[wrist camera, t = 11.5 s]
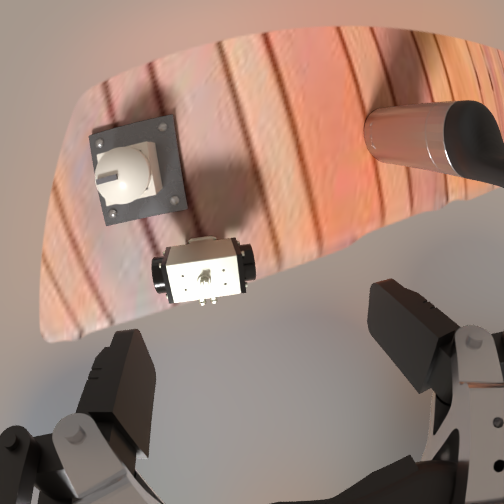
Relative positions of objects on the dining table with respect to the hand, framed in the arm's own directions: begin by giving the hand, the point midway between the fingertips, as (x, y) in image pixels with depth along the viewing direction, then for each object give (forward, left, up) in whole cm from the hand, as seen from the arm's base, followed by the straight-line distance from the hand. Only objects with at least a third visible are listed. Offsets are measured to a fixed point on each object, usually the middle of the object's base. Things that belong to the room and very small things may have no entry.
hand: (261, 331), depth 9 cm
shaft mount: (+10, -5, -32) cm, 34 cm away
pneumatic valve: (+3, +8, -32) cm, 33 cm away
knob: (+10, -5, -31) cm, 33 cm away
